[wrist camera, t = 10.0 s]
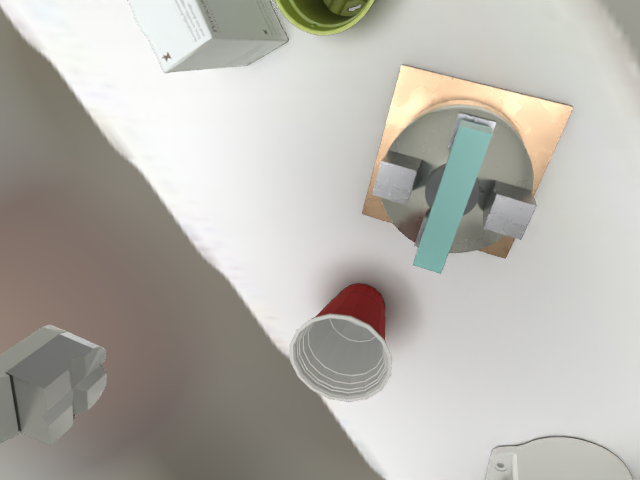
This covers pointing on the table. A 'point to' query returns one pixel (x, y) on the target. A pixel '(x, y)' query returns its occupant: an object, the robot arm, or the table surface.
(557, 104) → the socket
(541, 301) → the table surface
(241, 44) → the skincare box
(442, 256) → the teal rectangular stick
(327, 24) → the plant pot
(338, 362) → the plastic cup
